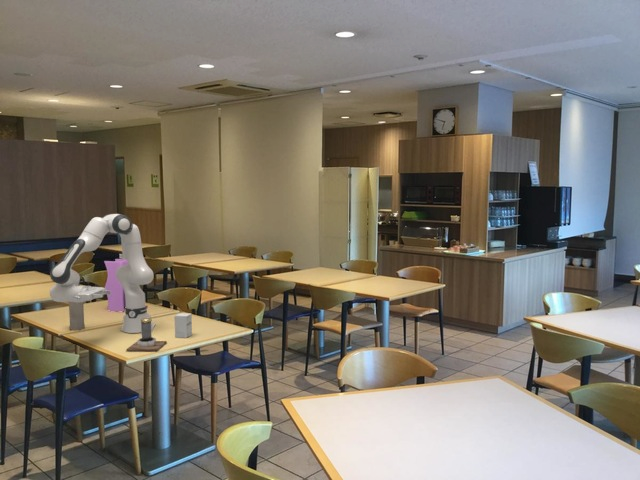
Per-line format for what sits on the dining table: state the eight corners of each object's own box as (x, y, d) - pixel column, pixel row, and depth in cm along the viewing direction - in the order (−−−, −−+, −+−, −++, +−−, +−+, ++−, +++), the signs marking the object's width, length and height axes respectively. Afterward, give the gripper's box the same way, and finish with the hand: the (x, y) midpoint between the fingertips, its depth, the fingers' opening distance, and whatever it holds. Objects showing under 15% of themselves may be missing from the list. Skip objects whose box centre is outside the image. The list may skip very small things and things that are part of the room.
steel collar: (141, 342, 295) (141, 337, 294) (157, 342, 294) (157, 337, 294) (135, 347, 286) (135, 341, 286) (152, 347, 286) (152, 341, 285)
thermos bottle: (77, 327, 335) (76, 281, 332) (87, 328, 331) (85, 282, 329) (67, 330, 327) (64, 283, 325) (76, 331, 324) (74, 284, 322)
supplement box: (186, 338, 308) (186, 316, 307) (174, 337, 310) (174, 315, 309) (192, 334, 315) (191, 313, 314) (180, 334, 317) (180, 312, 316)
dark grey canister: (143, 343, 293) (142, 317, 292) (153, 343, 293) (153, 317, 291) (139, 346, 287) (138, 320, 286) (150, 346, 287) (149, 320, 286)
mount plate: (137, 343, 299) (137, 340, 298) (166, 343, 298) (166, 341, 298) (126, 351, 283) (126, 349, 282) (156, 351, 282) (156, 349, 282)
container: (118, 307, 392) (116, 258, 389) (134, 308, 389) (133, 259, 386) (105, 311, 379) (103, 261, 376) (123, 312, 375) (121, 261, 372)
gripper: (71, 291, 282) (97, 291, 281) (89, 285, 302) (114, 285, 301) (71, 303, 282) (98, 303, 282) (90, 296, 302) (114, 296, 302)
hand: (106, 294), depth 292 cm, fingers open, 8 cm apart
